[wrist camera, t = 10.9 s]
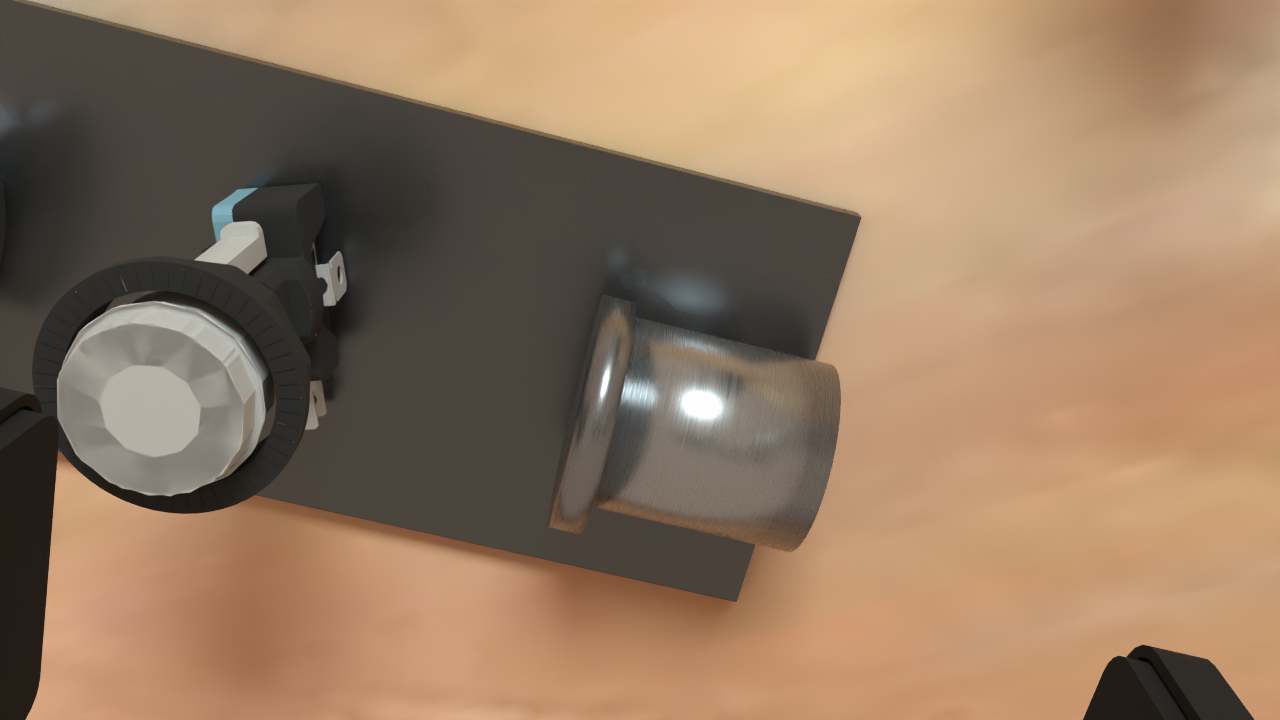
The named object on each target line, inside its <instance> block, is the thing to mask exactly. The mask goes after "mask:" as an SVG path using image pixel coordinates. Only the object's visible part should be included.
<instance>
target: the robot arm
mask: <svg viewBox="0 0 1280 720" xmlns="http://www.w3.org/2000/svg"><path fill="white" fill-rule="evenodd" d="M58 442H59V427H58V423H57V420H56V419H55V418H54V416H50V415H45V414H42V409H41V405H40V401H39V400H38V398H37V397H36V396H35V395H33V394H29V393H24V392H20V391H15V390H11V389H6V388H2V387H0V720H25V719H26V717H27V716H28V714H29V712H30V710H31V708H32V705H33V703H34V700H35V698H36V694H37V691H38V687H39V681H40V672H41V659H42V646H43V633H44V621H45V608H46V595H47V582H48V570H49V557H50V544H51V532H52V519H53V506H54V493H55V481H56V468H57V455H58ZM1083 720H1254V718H1253V717H1252V716H1251V714H1250V713H1249V712H1248V710H1247V709H1246V708H1245V706H1244V705H1243V703H1242V702H1241V701H1240V699H1239V698H1238V697H1237V695H1236V694H1235V693H1234V691H1233V690H1232V688H1231V687H1230V686H1229V684H1228V683H1227V682H1226V680H1225V679H1224V678H1223V676H1222V675H1221V673H1220V672H1219V671H1218V669H1217V668H1216V667H1215V666H1214V665H1213V664H1212V663H1211V662H1210V661H1209V660H1208V659H1204V658H1199V657H1195V656H1191V655H1186V654H1182V653H1177V652H1173V651H1168V650H1164V649H1159V648H1155V647H1151V646H1146V645H1141V646H1138V647H1136V648H1134V650H1133V651H1132V652H1131V653H1130V654H1129V655H1128V656H1127V658H1126V657H1122V656H1117V657H1115V658H1113V659H1112V660H1111V661H1110V662H1109V663H1108V664H1107V666H1106V668H1105V670H1104V672H1103V674H1102V676H1101V679H1100V681H1099V684H1098V686H1097V688H1096V691H1095V693H1094V695H1093V698H1092V700H1091V702H1090V705H1089V707H1088V709H1087V712H1086V714H1085V716H1084V719H1083Z"/></svg>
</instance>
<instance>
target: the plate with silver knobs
mask: <svg viewBox="0 0 1280 720" xmlns="http://www.w3.org/2000/svg"><path fill="white" fill-rule="evenodd" d="M312 183H319V184H320V185H321V188H322V191H323V197H324V203H325V210H326V217H325V220H324V222H323V224H322V226H321V228H320V230H319V232H318V234H317V236H316V240H317V246H318V252H319V258H320V264H327V263H328V261H329V260H330V259H331V258H332V257H333V255H334V254H335V253H336V252H337V251H340V252H341V254H342V257H343V263H344V269H345V275H346V282H347V287H346V292H345V293H344V294H343V296H342V297H341V298H340V299H339V301H336V305H333V306H328V311H329V317H330V323H331V329H332V334H334V335H335V337H336V339H337V344H338V350H339V363H338V365H337V367H336V368H335V370H334V371H333V373H332V374H331V376H330V377H329V379H328V380H321V381H322V387H323V393H324V398H325V404H326V410H327V413H326V414H325V415H324V416H317V417H318V423H319V425H318V427H317V428H316V429H308V430H304V433H303V436H302V439H301V441H300V443H299V445H298V447H297V449H296V451H295V452H294V454H293V456H292V457H291V459H290V460H289V462H288V463H287V465H286V466H285V468H284V469H283V470H282V471H281V473H280V474H279V475H278V476H277V477H276V478H275V479H274V480H273V481H272V482H271V483H270V484H269V485H268V486H266V487H265V488H264V489H262V490H261V491H260V492H258V493H257V494H255V495H258V496H262V497H267V498H271V499H276V500H280V501H285V502H289V503H294V504H298V505H303V506H307V507H312V508H316V509H321V510H325V511H330V512H334V513H339V514H343V515H348V516H352V517H357V518H361V519H366V520H370V521H375V522H379V523H384V524H388V525H393V526H397V527H402V528H406V529H411V530H415V531H420V532H424V533H429V534H433V535H438V536H442V537H447V538H451V539H456V540H460V541H465V542H469V543H474V544H478V545H483V546H487V547H492V548H496V549H501V550H505V551H510V552H514V553H519V554H523V555H528V556H532V557H537V558H541V559H546V560H550V561H555V562H559V563H564V564H568V565H573V566H577V567H582V568H586V569H591V570H595V571H600V572H604V573H608V574H613V575H617V576H622V577H626V578H631V579H635V580H640V581H644V582H649V583H653V584H658V585H662V586H667V587H671V588H676V589H680V590H685V591H689V592H694V593H698V594H703V595H707V596H712V597H716V598H721V599H725V600H730V601H734V602H736V601H737V598H738V595H739V592H740V589H741V586H742V583H743V580H744V577H745V574H746V571H747V568H748V564H749V561H750V558H751V555H752V552H753V549H754V546H755V544H756V545H761V546H765V547H769V548H774V549H778V550H783V551H787V552H792V551H794V550H795V549H797V548H798V547H799V546H800V545H801V543H802V542H803V540H804V539H805V537H806V536H807V534H808V532H809V530H810V528H811V526H812V524H813V522H814V520H815V517H816V515H817V513H818V510H819V507H820V504H821V502H822V499H823V496H824V493H825V489H826V486H827V482H828V479H829V475H830V471H831V467H832V463H833V458H834V453H835V448H836V442H837V436H838V429H839V420H840V406H841V390H840V381H839V376H838V373H837V370H836V369H835V367H834V366H833V365H831V364H827V363H823V362H819V361H815V358H816V355H817V352H818V349H819V346H820V343H821V340H822V337H823V334H824V331H825V327H826V324H827V321H828V318H829V315H830V312H831V309H832V306H833V303H834V300H835V297H836V294H837V291H838V287H839V284H840V281H841V278H842V275H843V272H844V269H845V266H846V263H847V260H848V257H849V254H850V251H851V247H852V244H853V241H854V238H855V235H856V232H857V229H858V226H859V223H860V220H861V216H860V215H859V214H858V213H856V212H852V211H848V210H844V209H840V208H836V207H832V206H828V205H825V204H821V203H817V202H813V201H809V200H805V199H801V198H797V197H793V196H789V195H785V194H782V193H778V192H774V191H770V190H766V189H762V188H758V187H754V186H750V185H746V184H742V183H739V182H735V181H731V180H727V179H723V178H719V177H715V176H711V175H707V174H703V173H699V172H696V171H692V170H688V169H684V168H680V167H676V166H672V165H668V164H664V163H660V162H656V161H653V160H649V159H645V158H641V157H637V156H633V155H629V154H625V153H621V152H617V151H613V150H609V149H606V148H602V147H598V146H594V145H590V144H586V143H582V142H578V141H574V140H570V139H566V138H563V137H559V136H555V135H551V134H547V133H543V132H539V131H535V130H531V129H527V128H523V127H520V126H516V125H512V124H508V123H504V122H500V121H496V120H492V119H488V118H484V117H480V116H477V115H473V114H469V113H465V112H461V111H457V110H453V109H449V108H445V107H441V106H437V105H434V104H430V103H426V102H422V101H418V100H414V99H410V98H406V97H402V96H398V95H394V94H391V93H387V92H383V91H379V90H375V89H371V88H367V87H363V86H359V85H355V84H351V83H348V82H344V81H340V80H336V79H332V78H328V77H324V76H320V75H316V74H312V73H308V72H305V71H301V70H297V69H293V68H289V67H285V66H281V65H277V64H273V63H269V62H265V61H262V60H258V59H254V58H250V57H246V56H242V55H238V54H234V53H230V52H226V51H222V50H219V49H215V48H211V47H207V46H203V45H199V44H195V43H191V42H187V41H183V40H179V39H176V38H172V37H168V36H164V35H160V34H156V33H152V32H148V31H144V30H140V29H136V28H133V27H129V26H125V25H121V24H117V23H113V22H109V21H105V20H101V19H97V18H93V17H90V16H86V15H82V14H78V13H74V12H70V11H66V10H62V9H58V8H54V7H50V6H47V5H43V4H39V3H35V2H31V1H27V0H0V387H2V388H6V389H11V390H15V391H20V392H24V393H29V394H33V395H34V389H33V380H32V363H33V354H34V349H35V344H36V341H37V338H38V334H39V332H40V329H41V327H42V325H43V323H44V321H45V319H46V317H47V316H48V314H49V313H50V311H51V309H52V308H53V307H54V306H55V304H56V303H57V302H58V301H59V299H60V298H61V297H62V296H63V295H65V294H66V293H67V292H68V291H69V290H70V289H71V288H72V287H74V286H75V285H76V284H78V283H79V282H81V281H82V280H84V279H85V278H87V277H88V276H90V275H92V274H94V273H95V272H97V271H99V270H101V269H103V268H105V267H108V266H110V265H112V264H116V263H119V262H122V261H126V260H131V259H137V258H144V257H153V256H165V257H173V258H181V259H189V260H195V259H196V258H197V257H199V256H200V255H201V254H202V250H203V249H205V248H206V247H207V246H209V245H214V244H216V238H215V232H214V227H213V222H212V209H213V207H214V206H215V205H217V204H218V203H220V202H221V201H223V200H224V199H226V198H227V197H228V196H230V195H231V194H233V193H234V192H235V191H236V190H238V189H249V188H261V187H274V186H287V185H300V184H312ZM337 275H338V281H340V274H339V269H337ZM146 292H147V291H144V292H137V293H132V294H127V295H124V296H121V297H118V298H115V299H114V300H113V301H112V302H111V304H110V305H109V306H108V308H107V310H106V311H105V312H107V311H108V310H110V309H112V308H115V307H118V306H121V305H127V304H131V303H133V302H134V301H135V300H137V299H138V298H139V297H141V296H142V295H143V294H145V293H146ZM313 395H314V394H313ZM314 400H315V404H316V403H317V398H316V396H315V395H314ZM275 410H276V402H275V403H274V405H273V406H272V407H271V409H270V410H269V411H268V413H267V414H266V415H265V421H264V424H263V427H262V430H261V433H260V436H259V439H258V442H257V443H259V442H260V441H262V440H263V439H265V438H266V437H267V436H268V435H269V434H270V432H271V429H272V426H273V422H274V417H275ZM58 451H60V450H59V449H58ZM60 452H61V451H60Z"/></svg>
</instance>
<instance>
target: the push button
mask: <svg viewBox="0 0 1280 720" xmlns="http://www.w3.org/2000/svg"><path fill="white" fill-rule="evenodd" d="M325 217H326V210H325V203H324V197H323V191H322V188H321V185H320V184H319V183H312V184H300V185H287V186H274V187H261V188H249V189H238V190H236V191H235V192H234V193H233V194H231V195H230V196H228V197H227V198H226V199H224V200H223V201H221V202H220V203H218V204H217V205H215V206H214V207H213V209H212V222H213V227H214V232H215V238H216V244H214V245H209V246H207V247H206V248H205V249H203V250H202V254H201V255H200V256H199V257H197V258H196V259H195V260H189V259H181V258H173V257H165V256H153V257H144V258H137V259H131V260H126V261H122V262H119V263H116V264H112V265H110V266H108V267H105V268H103V269H101V270H99V271H97V272H95V273H94V274H92V275H90V276H88V277H87V278H85V279H84V280H82V281H81V282H79V283H78V284H76V285H75V286H74V287H72V288H71V289H70V290H69V291H68V292H67V293H66V294H65V295H63V296H62V297H61V298H60V299H59V301H58V302H57V303H56V304H55V306H54V307H53V308H52V309H51V311H50V313H49V314H48V316H47V317H46V319H45V321H44V323H43V325H42V327H41V329H40V332H39V334H38V338H37V341H36V344H35V349H34V354H33V363H32V380H33V389H34V395H35V396H36V397H37V398H38V400H39V401H40V405H41V409H42V414H45V415H50V416H54V418H55V419H56V420H57V423H58V427H59V442H58V449H59V450H60V451H61V452H62V454H63V455H64V456H65V457H66V458H67V460H68V461H69V462H70V463H71V464H72V465H73V466H74V467H75V468H76V469H77V470H78V471H79V472H80V473H82V474H83V475H84V476H85V477H86V478H87V479H89V480H90V481H91V482H93V483H94V484H96V485H97V486H99V487H100V488H102V489H103V490H105V491H107V492H108V493H110V494H112V495H114V496H116V497H118V498H120V499H122V500H124V501H126V502H129V503H132V504H135V505H137V506H140V507H144V508H148V509H151V510H156V511H162V512H168V513H181V514H187V513H203V512H211V511H215V510H220V509H224V508H227V507H230V506H233V505H236V504H238V503H240V502H242V501H244V500H247V499H248V498H250V497H252V496H253V495H255V494H257V493H258V492H260V491H261V490H262V489H264V488H265V487H266V486H268V485H269V484H270V483H271V482H272V481H273V480H274V479H275V478H276V477H277V476H278V475H279V474H280V473H281V471H282V470H283V469H284V468H285V466H286V465H287V463H288V462H289V460H290V459H291V457H292V456H293V454H294V452H295V451H296V449H297V447H298V445H299V443H300V441H301V439H302V436H303V433H304V430H308V429H316V428H317V427H318V425H319V423H318V417H317V416H324V415H325V414H326V413H327V410H326V404H325V398H324V393H323V387H322V381H321V380H328V379H329V377H330V376H331V374H332V373H333V371H334V370H335V368H336V367H337V365H338V363H339V350H338V344H337V339H336V337H335V335H334V334H332V329H331V323H330V317H329V311H328V306H333V305H336V301H339V299H340V298H341V297H342V296H343V294H344V293H345V292H346V287H347V282H346V275H345V269H344V263H343V257H342V254H341V252H340V251H337V252H336V253H335V254H334V255H333V257H332V258H331V259H330V260H329V261H328V263H327V264H320V258H319V252H318V246H317V240H316V236H317V234H318V232H319V230H320V228H321V226H322V224H323V222H324V220H325ZM337 269H339V274H340V281H338V275H337ZM144 291H147V292H146V293H145V294H143V295H142V296H141V297H139V298H138V299H137V300H135V301H134V302H133V303H131V304H127V305H121V306H118V307H115V308H112V309H110V310H108V311H107V312H105V311H106V310H107V308H108V306H109V305H110V304H111V302H112V301H113V300H114V299H115V298H118V297H121V296H124V295H127V294H132V293H137V292H144ZM313 394H314V395H315V396H316V398H317V403H316V404H315V400H314V395H313ZM275 402H276V410H275V417H274V422H273V426H272V429H271V432H270V434H269V435H268V436H267V437H266V438H265V439H263V440H262V441H260V442H259V443H257V442H258V439H259V436H260V433H261V430H262V427H263V424H264V421H265V415H266V414H267V413H268V411H269V410H270V409H271V407H272V406H273V405H274V403H275Z"/></svg>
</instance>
